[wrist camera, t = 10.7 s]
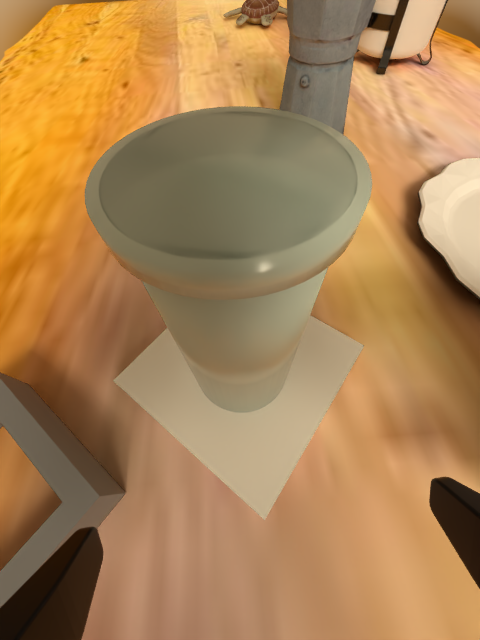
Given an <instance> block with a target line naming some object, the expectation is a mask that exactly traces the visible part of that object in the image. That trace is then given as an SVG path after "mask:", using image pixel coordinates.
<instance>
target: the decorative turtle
mask: <svg viewBox="0 0 480 640" xmlns="http://www.w3.org/2000/svg"><path fill="white" fill-rule="evenodd" d="M241 13H242V15H241V16H240V17H239V18H238V19H237V21H236V24H237V25H242V24H243V23H244V22H245V21H247V22H249V23H251V24H262V25H264V26H268V25H270V24H271V23H272V21H273V20H272V19H273V18H274V17H275V16H276V14H277V13H281V14H284V15H286V16H287V9H286V8H283V7H281V6H279V2H278V0H246V1H245V2H244V4H243V5H242V7H241V8H238V9H235V10H232V11H229V12H227V13H226V14H224V15H223V16H224V17H226V18H227V17H230V16H234V15H237V14H241Z"/></svg>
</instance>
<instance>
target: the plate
mask: <svg viewBox="0 0 480 640" xmlns="http://www.w3.org/2000/svg"><path fill="white" fill-rule="evenodd" d="M418 196H419V201H420V205H421V211H420V215H419V219H418V223H417V224H418V226H419V229H420V231H421V234H422V236H423V239H424V240H425V241H426V242H427V243H428V244H429V245H430V246H431V247H432V248H433V249H434V250H435V251H436V252H437V253H438V254H439V255H440V256H441V257H442V258H443V259H444V261H445V263H446V264H447V266H448V268H449V269H450V271H451V272H452V274H453V276H454V277H455V279H456V280H457V281H458V282H459V283H460V284H462V285H463V286H464V287H465V288H466V289H467V290H469V291H470V292H471V293H472V294H473V295H475V296H476V297H477V298H478V299H480V158H470V159H462V160H459V161H456V162H453V163H450V164H448V165H447V166H446V167H445V168H444V169H443V171H442V172H441V173H440V174H439V175H437V176H435V177H433V178H431V179H429V180H427V181H425V182H424V183H423V185H422V187H421V189H420V191H419V192H418Z"/></svg>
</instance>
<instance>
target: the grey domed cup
mask: <svg viewBox="0 0 480 640" xmlns="http://www.w3.org/2000/svg"><path fill="white" fill-rule="evenodd" d="M371 189H372V177H371V172H370V169H369V165H368V163H367V161H366V159H365V158H364V156H363V154H362V153H361V152H360V150H359V149H358V148H357V147H356V145H355V144H353V143H352V142H351V141H350V140H349V139H348V138H347V137H345V136H344V135H343V134H341V133H340V132H338V131H337V130H335V129H333V128H331V127H330V126H328V125H326V124H324V123H321V122H319V121H317V120H314V119H312V118H309V117H306V116H303V115H300V114H296V113H292V112H288V111H282V110H277V109H270V108H261V107H217V108H209V109H201V110H195V111H190V112H186V113H181V114H177V115H174V116H170V117H167V118H164V119H161V120H158V121H156V122H153V123H150V124H148V125H146V126H144V127H142V128H140V129H138V130H136V131H134V132H132V133H130V134H129V135H127V136H125V137H124V138H123V139H121V140H120V141H118V142H117V143H115V144H114V145H113V146H112V147H111V148H110V149H109V150H107V151H106V152H105V153H104V154H103V156H102V157H101V158H100V159H99V160H98V161H97V163H96V164H95V166H94V168H93V169H92V171H91V173H90V175H89V178H88V180H87V184H86V189H85V204H86V208H87V212H88V215H89V217H90V219H91V221H92V222H93V224H94V226H95V228H96V229H97V231H98V233H99V234H100V236H101V237H102V239H103V241H104V242H105V244H106V246H107V247H108V249H109V250H110V252H111V254H112V255H113V256H114V257H115V259H116V260H117V261H118V262H119V263H120V265H121V266H123V267H124V268H125V269H126V270H127V271H128V272H130V273H131V274H132V275H134V276H135V277H137V278H139V279H140V280H141V281H142V282H143V284H144V286H145V288H146V290H147V291H148V293H149V295H150V297H151V299H152V301H153V302H154V304H155V306H156V308H157V310H158V311H159V313H160V315H161V317H162V319H163V321H164V322H165V324H166V326H167V328H168V330H169V331H170V333H171V335H172V337H173V339H174V341H175V342H176V344H177V346H178V348H179V350H180V351H181V353H182V355H183V357H184V359H185V361H186V362H187V364H188V366H189V368H190V370H191V371H192V373H193V375H194V377H195V379H196V380H197V382H198V384H199V386H200V388H201V389H202V391H203V393H204V394H205V396H206V397H207V398H208V399H209V400H210V401H211V402H212V403H214V404H215V405H216V406H218V407H220V408H222V409H225V410H227V411H231V412H238V413H245V412H252V411H255V410H258V409H261V408H263V407H265V406H266V405H268V404H269V403H271V402H272V401H273V400H274V399H275V398H276V397H277V396H278V394H279V393H280V391H281V390H282V388H283V386H284V383H285V381H286V378H287V376H288V373H289V370H290V368H291V365H292V362H293V360H294V357H295V354H296V352H297V349H298V346H299V344H300V341H301V338H302V336H303V333H304V330H305V328H306V325H307V322H308V320H309V317H310V314H311V312H312V309H313V306H314V304H315V301H316V298H317V296H318V293H319V290H320V288H321V285H322V282H323V280H324V277H325V274H326V272H327V269H328V267H329V266H330V265H331V264H333V263H334V262H335V261H336V260H337V259H338V258H339V257H340V255H341V254H342V253H343V252H344V251H345V250H346V248H347V247H348V245H349V244H350V242H351V241H352V239H353V236H354V234H355V232H356V229H357V227H358V225H359V222H360V220H361V218H362V216H363V213H364V211H365V209H366V206H367V204H368V201H369V199H370V195H371Z"/></svg>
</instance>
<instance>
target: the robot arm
mask: <svg viewBox="0 0 480 640" xmlns="http://www.w3.org/2000/svg"><path fill="white" fill-rule="evenodd" d="M429 503H430V507H431V510H432V512H433V514H434V516H435V517H436V519H437V521H438V522H439V524H440V526H441V527H442V529H443V530H444V532H445V534H446V535H447V537H448V539H449V540H450V542H451V544H452V545H453V547H454V549H455V550H456V552H457V553H458V555H459V557H460V558H461V560H462V562H463V563H464V565H465V567H466V568H467V570H468V571H469V573H470V575H471V576H472V578H473V579H474V581H475V582H476V584H477V585H478V587H479V588H480V494H479V493H478V492H476V491H474V490H472V489H470V488H468V487H467V486H465V485H463V484H461V483H459V482H457V481H455V480H454V479H452V478H449V477H440V478H434V479H432V481H431V487H430V499H429ZM102 560H103V547H102V544H101V541H100V537H99V534H98V531H97V528H95V527H93V526H92V527H85V528H80V529H78V530H77V531H75V532H74V533H73V534H72V535H71V536H70V537H69V538H68V539H67V540H66V541H65V542H64V543H63V544H62V545H61V546H60V547H59V549H58V550H57V551H56V552H55V553H54V554H53V555H52V556H51V557H50V558H49V559H48V560H47V561H46V562H45V563H44V564H43V565H42V566H41V567H40V568H39V569H38V570H37V571H36V572H35V573H34V574H33V575H32V576H31V577H30V578H29V579H28V580H27V581H26V582H25V583H24V584H23V585H22V586H21V587H20V588H19V589H18V590H17V591H16V592H15V593H14V594H13V595H12V596H11V597H10V598H9V599H8V600H7V601H6V602H5V603H4V604H3V605H2V606H1V607H0V640H81V639H82V636H83V632H84V629H85V625H86V621H87V617H88V613H89V610H90V606H91V602H92V598H93V595H94V591H95V587H96V583H97V579H98V576H99V572H100V568H101V564H102Z"/></svg>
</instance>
